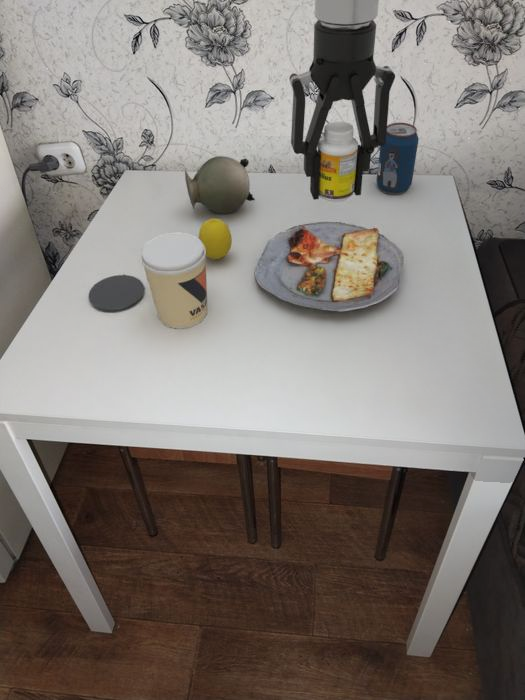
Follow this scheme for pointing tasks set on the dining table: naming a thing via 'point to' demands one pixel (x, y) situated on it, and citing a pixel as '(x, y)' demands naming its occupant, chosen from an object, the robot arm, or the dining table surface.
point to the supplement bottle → (337, 162)
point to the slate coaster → (116, 293)
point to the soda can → (397, 158)
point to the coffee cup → (177, 278)
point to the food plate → (330, 266)
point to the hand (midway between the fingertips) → (335, 192)
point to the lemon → (215, 238)
